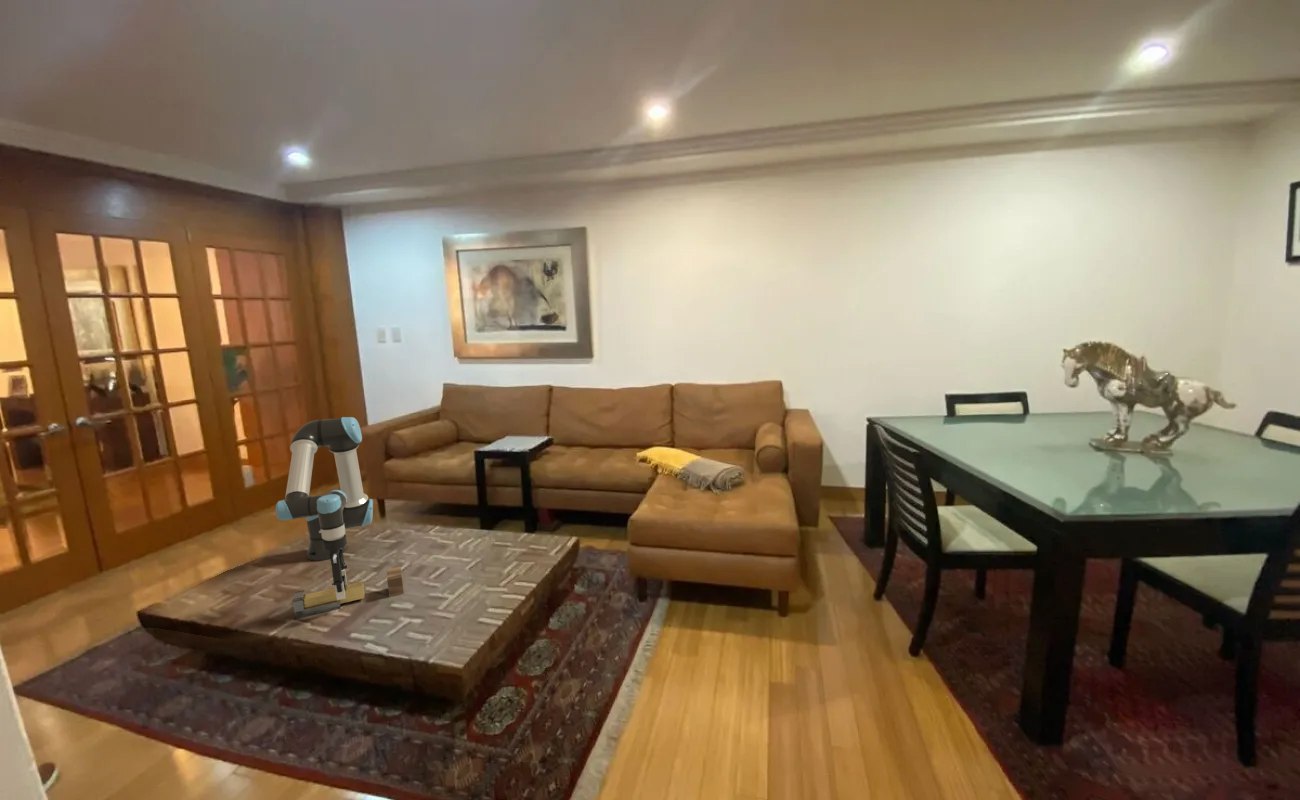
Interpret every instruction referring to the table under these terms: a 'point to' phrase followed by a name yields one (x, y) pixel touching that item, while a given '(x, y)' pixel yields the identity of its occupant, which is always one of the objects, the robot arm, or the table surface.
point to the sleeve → (303, 612)
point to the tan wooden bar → (334, 595)
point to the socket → (395, 581)
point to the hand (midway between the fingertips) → (342, 592)
